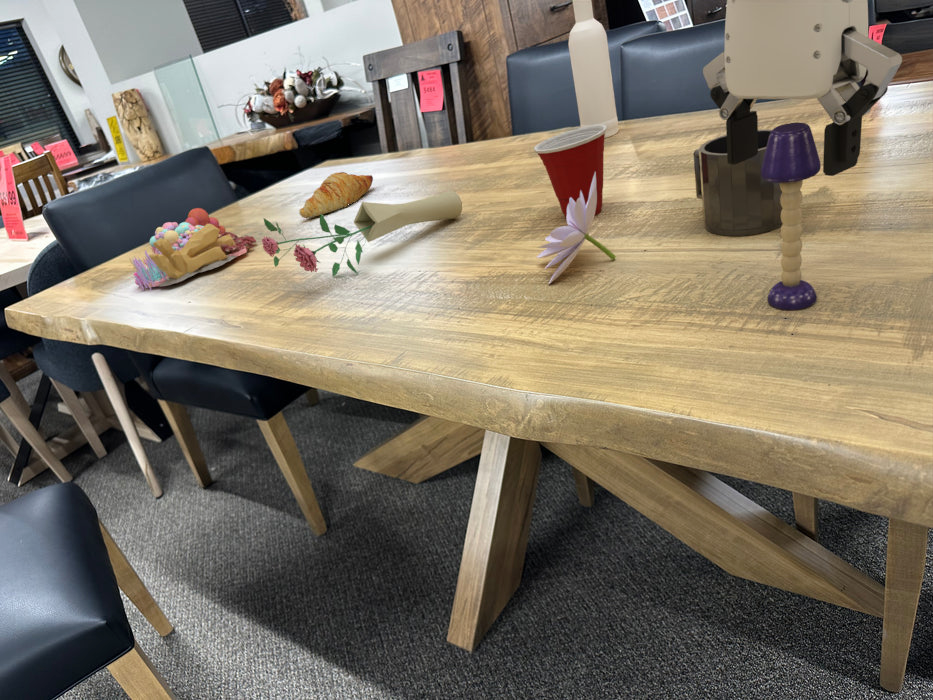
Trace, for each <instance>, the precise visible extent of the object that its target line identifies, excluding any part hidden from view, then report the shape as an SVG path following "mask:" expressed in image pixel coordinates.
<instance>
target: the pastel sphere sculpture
mask: <svg viewBox="0 0 933 700" xmlns="http://www.w3.org/2000/svg"><path fill="white" fill-rule="evenodd" d="M255 243H257V240H256V238H255V237H254V236H250V235H246V236H242V235H238V234H237V235H236V234H235V233H233V232H232V231H231V232H230V231H226V228H225V226H223V225H220V221H219V220H218V219H217V218H216V217H213V216H211V217H210V216H209V213H208V212H207V211H206V210H205V209H203V208H201V207H195V208H192V209H191V210H190V211H189V212H188V215H187V218H186V219H185V221H183V222H181V223H179V224H178V222H177V221H173V222H172V221H171V222H170V221H167V222H165V223H163V225H162V226H158V227H157V228H156V229H155V231H154V235H153V236H151V237H150V239H149V245H150V246H149V249H150V250H152V252H151V254H148V252H147V250H146V249H145V250H144V255H145V256H144V257H143V258H142V259H143V261H142V259H140V258H139V257H136V256H133V258H130V257H129V262H130V264H131V265H132V267H133V269H134V270H135V272H134V273H133V276H134V277H133V278H134V280H135V282H134V283H135V285H136V286H138V288H141V290H142V291H144V290H145V288H146V289H149V290H150V291H152V288H155V287H159V288H160V287H166V286H172V285H173V284H178V283H181V282H183V281H185V280H187V279H188V278H191V277H192V276H193V277H194V276H195V275H196V274H199V273H203V272H204V273H205V272H206V271H210V270H213V269H216V268H218V267H221V266H223V265H225V264H226V263H228V262H231V261H232V260H234V259H235V258H238V257H239V256H241V255H244V254H246V253H248V249H252V248H255V247H256V245H254V244H255Z"/></svg>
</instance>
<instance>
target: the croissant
mask: <svg viewBox="0 0 933 700" xmlns="http://www.w3.org/2000/svg"><path fill="white" fill-rule="evenodd" d="M373 181H374V177H373V175H371V174H367V175H365V174H360V175H359V174H358V175H357V174H352V173H351V174H349V173H347V172H345V171H341V172H334V173H331V174H330V175H328V176H327V177H326V178H325V179H324V180H323V181H322V182H321V184H320V186H319V187H317V188H316V189H315V190H314V191H313V194H312V195H311V197H309V198H308V199H306V201H305V202H304V204H303V205H304V206H303V207H301V208H300V209H299V213H298V214H299V216H300V217H302V218H303V219H309V218H314V217H318V216H321V213H322V215H325V214H328V213H332V212H335V211H338V210H341V209H340V208H342V209H344V208H346V207H348V206H349V205H348V204H351V203H353V202H354V203H356V202H357V201H358V200H359V199H361V197H363V196H364V195H365V194H367V192H369V190H370V189H371V187H372V184H373ZM354 203H353V204H354ZM347 205H348V206H347ZM351 205H352V204H351ZM343 207H344V208H343ZM337 209H338V210H337Z"/></svg>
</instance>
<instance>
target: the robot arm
mask: <svg viewBox="0 0 933 700" xmlns="http://www.w3.org/2000/svg"><path fill="white" fill-rule="evenodd" d="M868 5H869V4H868V0H726V10H725V23H724V24H725V25H724V50H723V51H722V52H721V53H720V54H719V55H717V56H716V57H714V59H712V60H711V61H710V62H708V63H707V64H706V65H704V67H703V68H702V74H703V77H704V79H705V82H706V84H707V87H708V89H709V90H710V92H709V93H710V99H711V101H713V102H714V104H715V105H716V107H718V109H719V112H718V114H719V117H720V119H721V120H723V121H725V129H726V131H725V132H726V135H727V160H728V163H729V164H733V165H735V164H737V163H740V162H742V161H745V160H747V159H749V158H752V157H754V156H756V155H757V154H758V130H759V124H758V122H759V120H758V118H759V117H758V111H757V110H752V109H753V106H754V105H755V104H756V102H757V101H758V100H814V99H817V100H818V102H819V104H820V105H821V106H822V108H823V109H824V111H825V112H826V114H827V115H828V117H829V118H830V119H831V120H832V122H830V123H828V124H827V125H825V127H824V130H823V132H824V135H823V163H822V173H823V174H824V175H825V176H829V177H834V176H836V175H839V174H841V173H842V172H846V171H847V170H849V169H853V168H854V167H855V166H856V165H857V164H858V161H859V157H860V154H861V143H862V123H863V117H864V116H866V115H868V114H869V113H870V112H871V110H872V108H873V107H874V106H875V105H876V104H877V102H879V101H880V100H881V99H882V98H884V96H885V95H886V94H887V93H888V88H889V84H891V83H892V81H893V80H894V77H895V76H896V74H897V72H898V71H899V68H900V66H902V63H903V56H902V55H901V54H900V53H899V52H897V51H895V50H893V49H891V48H889V47H887V46H885V45H883V44H882V43H880V42H878V41H875V40H874V39H872V38H870V37H869V6H868ZM866 74H867V75H866ZM865 76H866V78H865ZM864 78H865V81H864V83H863V85H862V86H860V85H859V84H858V83H859V82H861V81H862V80H863V79H864Z"/></svg>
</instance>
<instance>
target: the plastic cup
mask: <svg viewBox="0 0 933 700" xmlns="http://www.w3.org/2000/svg"><path fill="white" fill-rule="evenodd" d="M606 127H607V126H604V125H592V126H587V127H582V128H581V127H578V128H574V129H571V130H568V131H565V132H561V133H558V134H556V135H554V136H551V137H549V138H547V139H544V140H542V141H541V142H539V143H538V144H536V145H535V146H534V148H533V151H534V153H536V154H537V155H538V156H539V158H540V160H541V161H542V164H543V166H544V167H545V170H546V173H547V176H548V178H549V181H550V183H551V186H552V188H553V191H554V194H555V197H556V198H557V201H558V203H559V206H560V209H561V212H562V214H563V215H564V218H566V216H567V206H568V204H569V199H570V197H571V198H572V199H573V200H574V201H575V202H576V201H577V199H578V198H580V190H581V192H582V194H583V197H584V200H585V205H586V204H587V201H588V198H589V192H590V187H591V183H592V180H593V176H594V174H595V172H596V190H597V204H596V211H595V215H594V216H596V215H598V214H600V213H601V212H602V209H603V208H602V207H603V194H604V193H603V189H604V157H605V156H604V151H605V138H604V136H605V132H606Z"/></svg>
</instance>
